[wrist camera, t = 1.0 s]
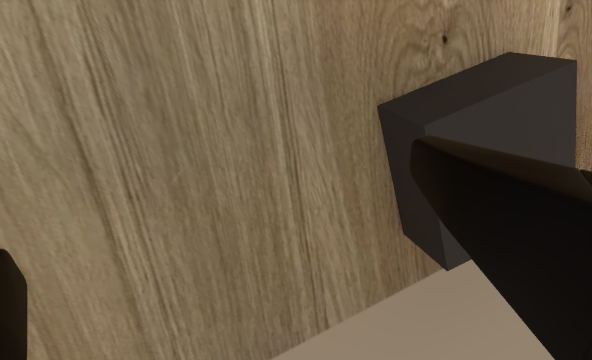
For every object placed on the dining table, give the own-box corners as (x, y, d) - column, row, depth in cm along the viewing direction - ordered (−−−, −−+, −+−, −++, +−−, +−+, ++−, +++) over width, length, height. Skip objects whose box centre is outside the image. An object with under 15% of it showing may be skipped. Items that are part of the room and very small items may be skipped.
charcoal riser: (516, 180, 33) (574, 207, 28) (403, 234, 31) (447, 271, 26) (509, 51, 28) (577, 59, 24) (376, 105, 26) (424, 125, 22)
